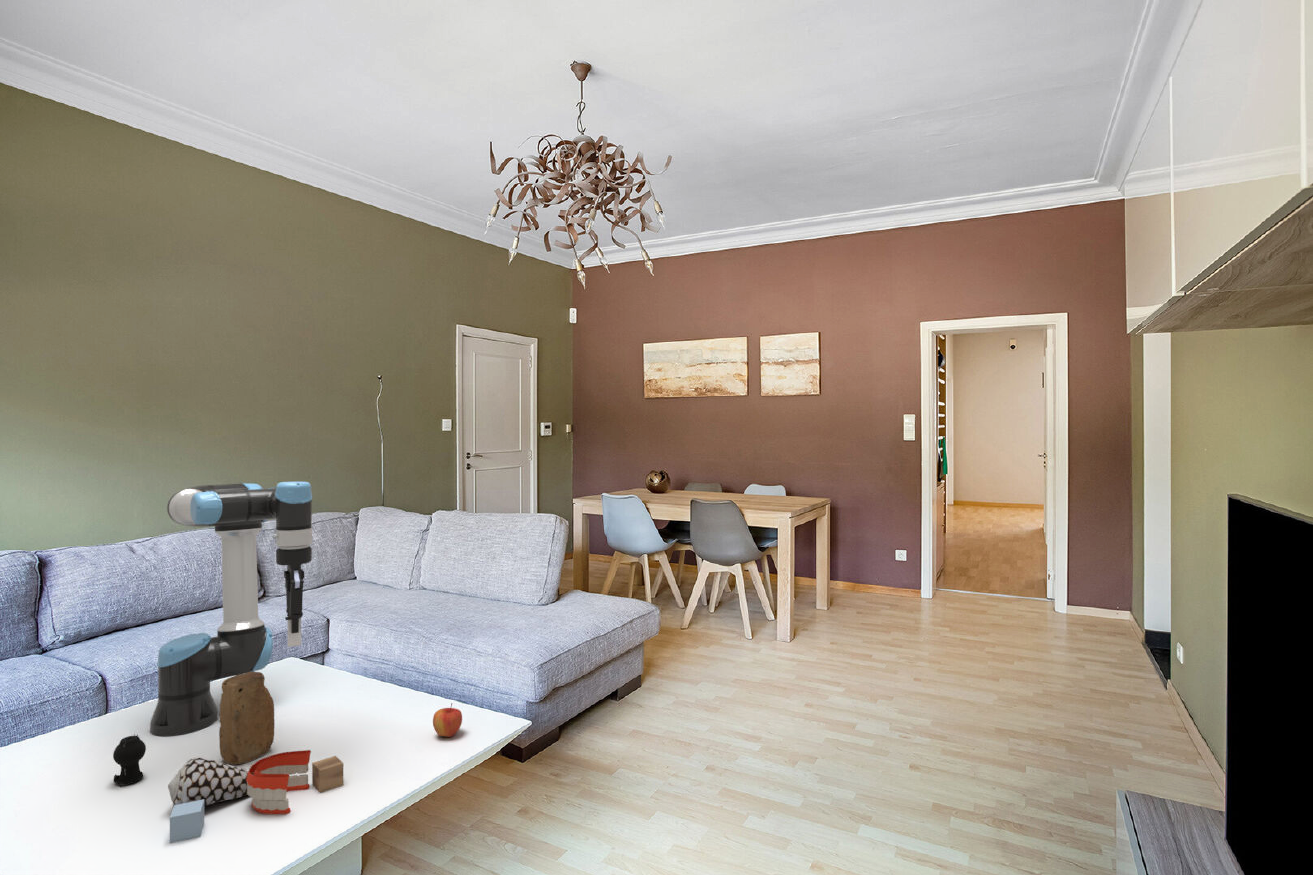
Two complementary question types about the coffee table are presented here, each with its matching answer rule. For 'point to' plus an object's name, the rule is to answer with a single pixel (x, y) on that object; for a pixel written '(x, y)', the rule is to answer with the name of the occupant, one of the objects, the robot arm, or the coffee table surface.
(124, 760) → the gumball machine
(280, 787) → the toy
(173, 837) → the slate block
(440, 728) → the apple
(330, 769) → the walnut block
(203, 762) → the seashell
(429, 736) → the coffee table surface
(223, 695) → the brown rock
